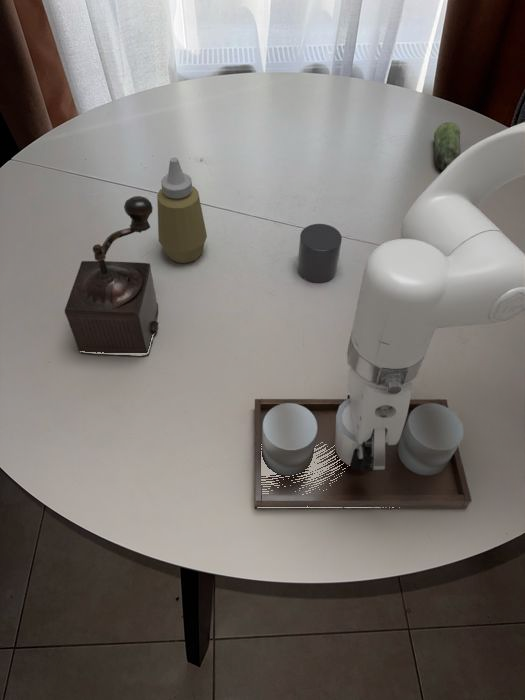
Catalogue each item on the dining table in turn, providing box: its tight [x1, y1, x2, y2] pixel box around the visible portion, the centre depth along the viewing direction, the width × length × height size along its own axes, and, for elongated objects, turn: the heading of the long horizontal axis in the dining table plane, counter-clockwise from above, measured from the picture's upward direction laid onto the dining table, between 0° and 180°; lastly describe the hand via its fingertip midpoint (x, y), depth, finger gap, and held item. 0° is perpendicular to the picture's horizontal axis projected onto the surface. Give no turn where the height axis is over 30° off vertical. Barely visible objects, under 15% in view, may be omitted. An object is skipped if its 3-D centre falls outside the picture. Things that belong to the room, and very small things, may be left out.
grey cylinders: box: [296, 223, 343, 284], centre depth 95 cm, size 26×7×7 cm, turn 91°
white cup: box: [335, 398, 387, 466], centre depth 71 cm, size 7×7×7 cm
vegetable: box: [433, 121, 462, 172], centre depth 117 cm, size 14×5×5 cm, turn 170°
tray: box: [254, 398, 472, 509], centre depth 73 cm, size 26×15×7 cm, turn 91°
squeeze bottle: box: [156, 156, 208, 264], centre depth 92 cm, size 8×8×18 cm
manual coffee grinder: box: [64, 195, 159, 353], centre depth 83 cm, size 16×11×18 cm
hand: (359, 439), depth 72 cm, fingers closed on white cup, 6 cm apart
